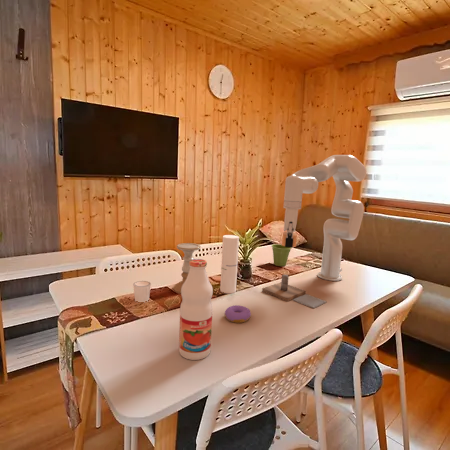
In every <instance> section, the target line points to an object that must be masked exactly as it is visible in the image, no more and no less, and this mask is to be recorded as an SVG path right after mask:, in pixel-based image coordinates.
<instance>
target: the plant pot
mask: <svg viewBox="0 0 450 450" xmlns="http://www.w3.org/2000/svg"><path fill="white" fill-rule="evenodd" d="M271 248H272V257H273V265H275V266H277V267H285V266H286V265H287V262H288V258H289V257H290V253H291V249H292V248H291V247H285V246H282V243H279V244H278V243H277V244H271Z"/></svg>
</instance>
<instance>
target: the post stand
mask: <svg viewBox="0 0 450 450" xmlns="http://www.w3.org/2000/svg"><path fill="white" fill-rule="evenodd" d="M289 277H290V276H289V275H288V274H284V273H283V274H282V275H281V282H278V283H274V284H272V285H268V286H264V287H262V288H261V290H262V293H265V294H268V295H270V296H272V297H275V298H278V299H280V300H283V301H285V302H290V301H293V299H295V298H298V297H300V296H303V295H305V294H307V290H304V289H302V288H300V287H296V286H293V285H290V284H289V279H290V278H289Z"/></svg>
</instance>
